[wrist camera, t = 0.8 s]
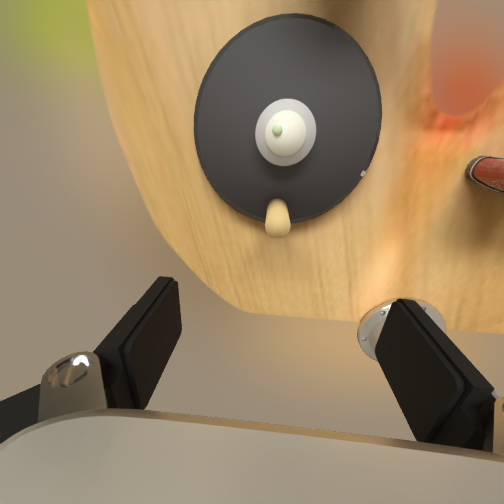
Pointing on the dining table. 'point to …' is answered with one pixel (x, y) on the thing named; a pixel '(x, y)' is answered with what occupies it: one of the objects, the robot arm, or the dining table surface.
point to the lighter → (487, 172)
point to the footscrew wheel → (288, 120)
